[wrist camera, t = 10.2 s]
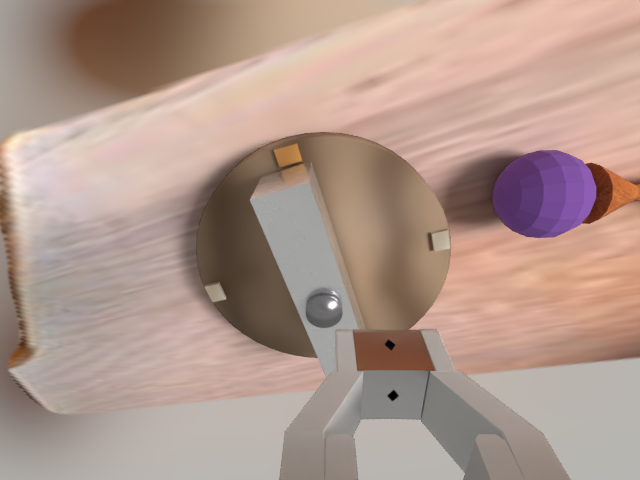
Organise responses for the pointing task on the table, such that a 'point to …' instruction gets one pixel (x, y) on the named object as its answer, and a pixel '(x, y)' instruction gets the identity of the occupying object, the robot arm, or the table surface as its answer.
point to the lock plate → (350, 230)
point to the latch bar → (308, 256)
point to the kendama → (557, 193)
